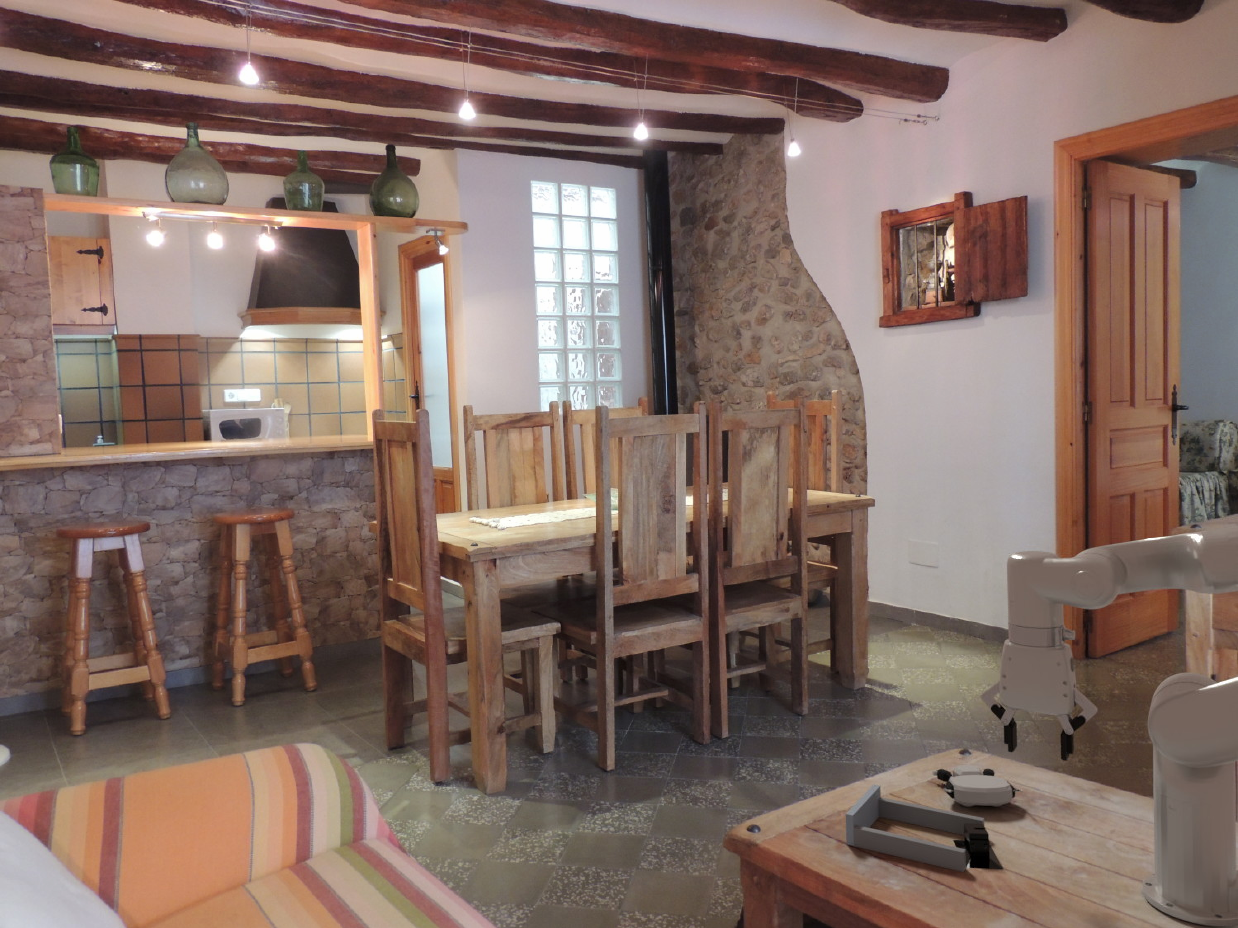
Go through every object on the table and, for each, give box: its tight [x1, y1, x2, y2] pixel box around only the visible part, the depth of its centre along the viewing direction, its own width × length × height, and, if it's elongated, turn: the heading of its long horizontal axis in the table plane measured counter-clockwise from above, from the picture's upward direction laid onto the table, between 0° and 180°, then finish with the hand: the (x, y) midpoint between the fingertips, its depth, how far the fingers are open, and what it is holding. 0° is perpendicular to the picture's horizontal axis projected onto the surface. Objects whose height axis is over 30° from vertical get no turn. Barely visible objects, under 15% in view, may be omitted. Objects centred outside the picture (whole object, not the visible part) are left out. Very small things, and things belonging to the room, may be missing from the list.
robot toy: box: [932, 764, 1023, 808], centre depth 161 cm, size 12×4×15 cm
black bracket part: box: [952, 823, 1004, 871], centre depth 140 cm, size 12×7×5 cm, turn 171°
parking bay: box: [845, 784, 985, 873], centre depth 145 cm, size 18×14×5 cm
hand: (1038, 752), depth 134 cm, fingers open, 6 cm apart
